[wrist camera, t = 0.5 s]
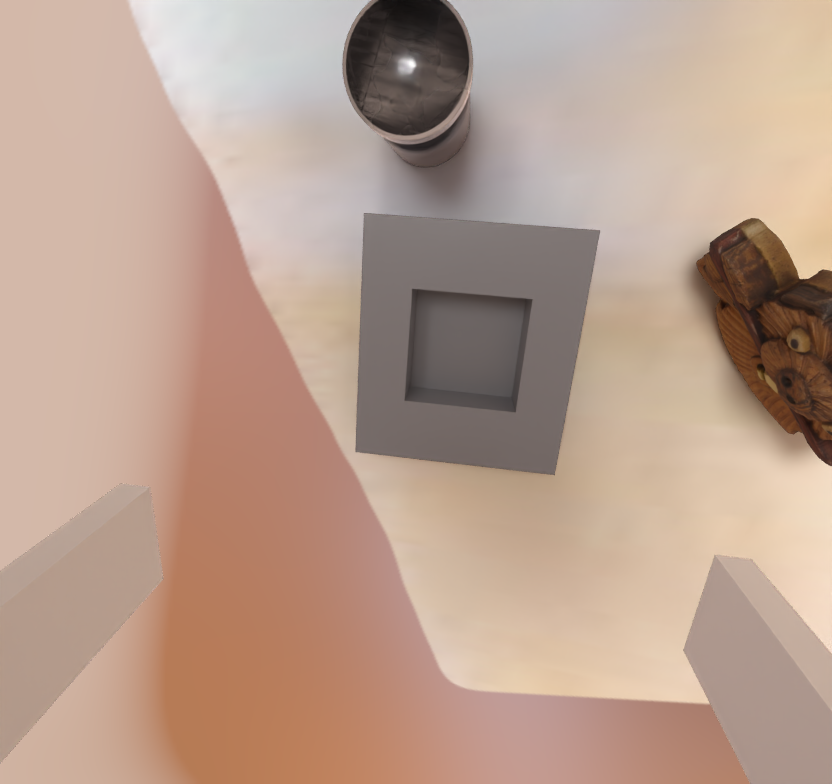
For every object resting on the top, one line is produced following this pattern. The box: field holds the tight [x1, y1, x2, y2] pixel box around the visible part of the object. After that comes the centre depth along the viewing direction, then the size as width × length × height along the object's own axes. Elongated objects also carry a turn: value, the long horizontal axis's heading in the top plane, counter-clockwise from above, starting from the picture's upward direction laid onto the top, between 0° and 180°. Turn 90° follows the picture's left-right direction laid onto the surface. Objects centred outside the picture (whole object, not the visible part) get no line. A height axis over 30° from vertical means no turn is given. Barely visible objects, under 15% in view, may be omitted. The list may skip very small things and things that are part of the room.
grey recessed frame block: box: [356, 213, 600, 475], centre depth 32 cm, size 16×14×4 cm
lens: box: [343, 0, 473, 167], centre depth 26 cm, size 6×6×10 cm
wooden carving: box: [696, 218, 832, 466], centre depth 28 cm, size 16×5×10 cm, turn 39°
